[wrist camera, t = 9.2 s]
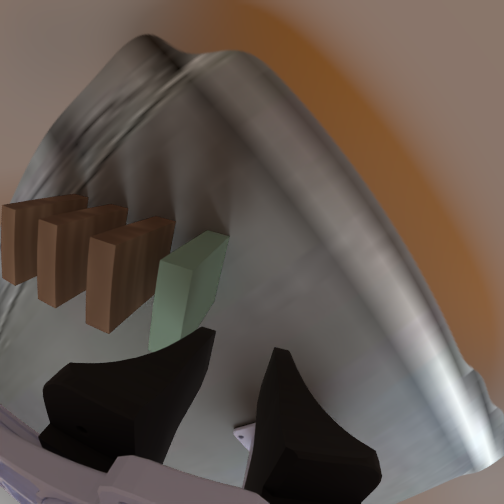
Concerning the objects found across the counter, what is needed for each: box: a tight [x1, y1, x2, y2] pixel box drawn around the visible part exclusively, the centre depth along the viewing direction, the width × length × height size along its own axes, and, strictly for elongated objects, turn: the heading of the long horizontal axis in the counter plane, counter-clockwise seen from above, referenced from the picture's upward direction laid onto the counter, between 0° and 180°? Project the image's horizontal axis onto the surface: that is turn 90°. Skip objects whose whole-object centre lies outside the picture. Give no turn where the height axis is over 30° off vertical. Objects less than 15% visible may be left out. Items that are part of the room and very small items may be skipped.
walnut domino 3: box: [86, 216, 176, 334], centre depth 18 cm, size 2×5×8 cm, turn 165°
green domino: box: [148, 230, 230, 352], centre depth 18 cm, size 2×5×8 cm, turn 166°
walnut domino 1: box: [1, 194, 88, 286], centre depth 18 cm, size 2×5×8 cm, turn 165°
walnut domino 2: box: [37, 204, 128, 308], centre depth 18 cm, size 2×5×8 cm, turn 165°
